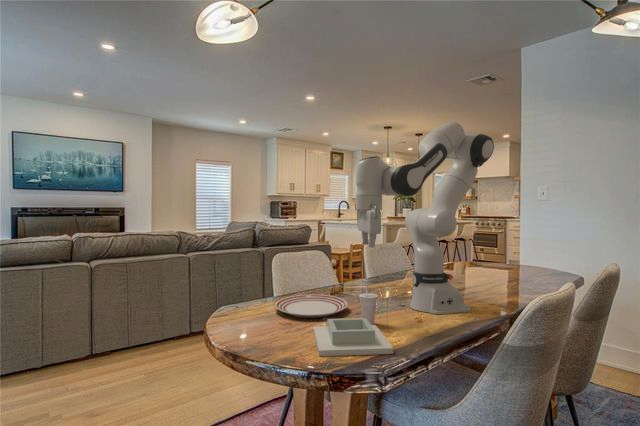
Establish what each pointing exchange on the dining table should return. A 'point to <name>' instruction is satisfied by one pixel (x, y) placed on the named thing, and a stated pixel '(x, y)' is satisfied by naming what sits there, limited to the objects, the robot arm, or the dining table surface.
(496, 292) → the dining table surface
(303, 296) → the dinner plate
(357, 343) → the socket dock
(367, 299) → the smoothie
